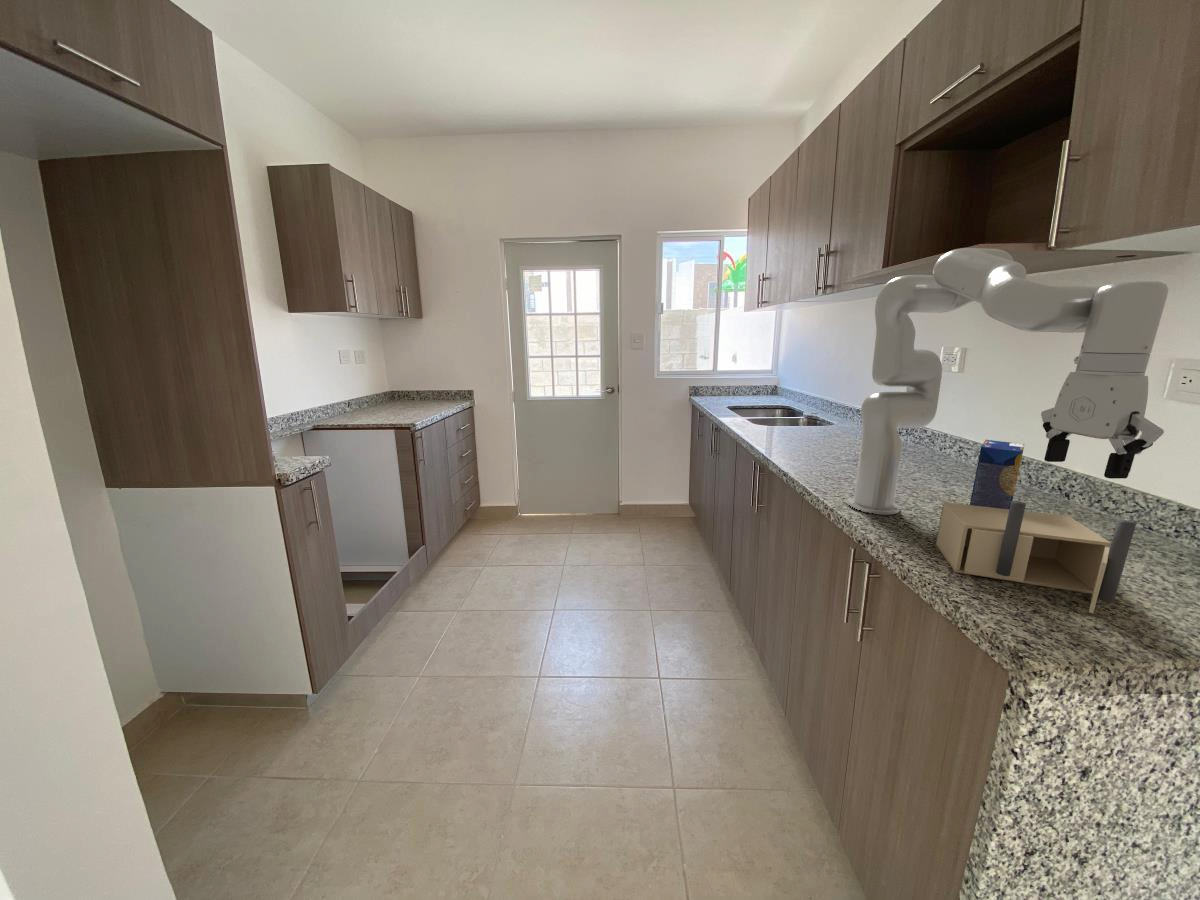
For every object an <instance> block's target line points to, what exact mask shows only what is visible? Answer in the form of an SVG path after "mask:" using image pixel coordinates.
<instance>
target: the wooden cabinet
mask: <svg viewBox="0 0 1200 900" xmlns="http://www.w3.org/2000/svg"><path fill="white" fill-rule="evenodd" d="M1008 514H1009V509H1001V508H991V507H982V506H973V505H970V504H963V503H953V502H945V501H943V502H942V508H941V514H940V519H939V525H938V529H937V536H936V539H935V540H936V542H935V546H936V547H937V548H938V550H939V551H940V552H941V554H942V556H943V557H944V558H945V560H946V562H947V563H948V564H949V565H950V567H951V568H952V570H953V571H954V573H958V574H964V575H969V576H970V575H971V576H976V577H977V576H978V577H982V578H983V577H984V578H990V579H997V580H1000V581H1008V582H1009V581H1010V582H1016V583H1021V584H1028V585H1032V586H1033V585H1034V586H1040V587H1048V588H1054V589H1058V590H1059V589H1060V590H1067V591H1072V592H1073V591H1074V592H1079V593H1086V594H1093V590H1094V586H1095V583H1096V579H1097V575H1098V572H1099V568H1100V564H1101V561H1102V557H1103V553H1104V550H1105V547H1109V548H1110V546H1111V542H1110V541H1108V540H1107V539H1105V538H1104V537H1103V536H1101V535H1099V534H1098V533H1096V532H1094V531H1092V530H1091V529H1090V528H1088V527H1086V526H1085V525H1083V524H1081V523H1080V522H1078V521H1077V520H1075V519H1073V518H1072V517H1071V516H1069V515H1063V514H1053V513H1045V512H1035V511H1026V510H1025V511H1024V515H1023V520H1022V524H1021V529H1020V533H1019V535H1025V536H1033V537H1034V538H1033V543H1032V547H1031V551H1030V556H1029V560H1028V564H1027V568H1026V573H1025V577H1024V581H1023V582H1019V581H1012V580H1006V579H999V578H993V577H987V576H980V575H974V574H967V573H964V568H965V563H966V558H967V553H968V548H969V543H970V538H971V533H972V529H977V530H985V531H993V532H1001V533H1004V532H1005V528H1006V523H1007V519H1008Z"/></svg>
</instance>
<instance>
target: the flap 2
mask: <svg viewBox="0 0 1200 900" xmlns="http://www.w3.org/2000/svg"><path fill="white" fill-rule="evenodd" d="M1136 526H1137V523H1136V522H1134V521H1132V520H1129V519H1117V521H1116V525H1115V529H1114V532H1113V535H1112V538H1111V539H1112V540H1111V542H1110V543H1111V544H1110V547H1105V550H1104V553H1103V557H1102V561H1101V564H1100V568H1099V572H1098V575H1097V579H1096V583H1095V586H1094V590H1093V594H1092V595H1091V600H1090V605H1089V610H1088V612H1089V613H1091V614H1094V613H1095V612H1094V611H1095V609H1096V604H1097V600H1098V601H1101V602H1103V603H1106V604H1114V603H1115V599H1116V596H1117V591H1118V589H1119V585H1120V583H1121V578H1122V576H1123V571H1124V568H1125V565H1126V561H1127V557H1128V554H1129V551H1130V546H1131V545H1132V540H1133V538H1134V537H1133V536H1134V533H1135V529H1136Z"/></svg>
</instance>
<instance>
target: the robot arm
mask: <svg viewBox="0 0 1200 900" xmlns="http://www.w3.org/2000/svg"><path fill="white" fill-rule="evenodd" d="M1168 293H1169V288H1168V285H1167V284H1166V283H1164V282H1161V281H1156V280H1155V281H1154V280H1142V281H1141V280H1140V281H1139V280H1138V281H1123V282H1114V283H1109V284H1105V285H1103V286H1091V285H1090V286H1087V285H1086V286H1085V285H1081V286H1080V285H1048V284H1042V283H1038V282H1034V281H1031V280H1028V279H1027V270H1026V267H1025V266H1024V265H1023V264H1022V263H1020V262H1018V261H1016V260H1014V258H1013V256H1012V255H1011V254H1010V253H1009V252H1007V251H1006V250H1002V249H999V248H984V247H982V248H981V247H980V248H979V247H962V248H960V247H959V248H956V249H952V250H950V251H948V252H946V253H944V254H943V255H941V256H940V257H939V258H938V260H937V261H936V262H935V264H934V265H933V269H932V275H930V274H907V275H901V276H897V277H895V278H892V279H891V280H889V281H888V282H886V283H885V284H884V285H883V287H882V288H881V289H880V291H879V293H878V295H877V296H876V300H875V305H874V316H875V317H874V318H875V319H874V320H875V329H876V332H875V333H876V334H875V341H874V349H873V351H874V352H873V360H872V367H871V369H872V370H871V371H872V372H871V373H872V374H871V375H872V380H873V382H874V383H875V384H877V386H881V387H891V388H892V387H896V388H897V387H898V388H900V387H901V388H902V387H906V391H884V392H883V391H882V392H875V393H872V394H871V395H869V396H867V397H866V398H865V399H864V400H863V402H862V405H861V408H860V419H861V440H860V446H859V456H858V465H857V471H856V478H855V479H856V480H855V487H854V493H853V496H849V497H848V498H847V500H846V504H847V505H848V506H849V505H850V506H851V507H850V506H849V507H850V508H852V507H853V508H852V509H854V508H855V509H854V510H856V509H857V511H859V510H861V512H863V513H867V512H868V513H869V514H872V513H873V514H872V515H879V516H880V515H882V516H883V515H884V516H885V515H886V516H889V515H896V514H898V513H900V510H901V507H900V504H899V505H898V504H897V503H896V502H895V499H896V498H895V497H896V493H897V492H896V491H897V485H898V477H899V473H900V466H901V460H902V452H903V442H902V439H901V436H900V435H899V432H898V430H899V429H916V428H923V427H926V426H928V425H930V424H931V423H932V422H933V420H934V418H935V417H936V415H937V410H938V403H939V399H940V398H939V397H940V392H941V390H940V389H941V384H942V377H943V365H942V362H941V361H942V360H941V359H940V357H939V355H938V354H936V352H934V351H932V350H928V349H920V348H919V349H915V342H916V341H915V340H916V329H915V328H916V327H915V325H914V322H913V320H912V319H911V317H910V316H909V314H910V313H931V314H932V313H933V314H934V313H936V314H937V313H938V314H942V313H948V312H949V313H950V312H952V311H953V312H954V311H955V310H958V309H960V308H963V307H965V306H966V305H968V304H971V303H973V302H976V303H979V304H981V307H982V310H983V311H984V313H985V314H986V315H987V316H988V317H990V318H992V319H994V320H996V321H998V322H1000V323H1003V324H1004V325H1007V326H1010V327H1012V328H1015V329H1018V330H1021V331H1025V332H1030V333H1066V334H1067V333H1068V334H1069V333H1072V334H1073V333H1076V334H1078V333H1084V335H1083V339H1082V342H1081V346H1080V347H1081V348H1080V351H1079V355H1078V356H1076V357H1074V360H1073V363H1074V365H1076V367H1075V371H1070V372H1069V374H1068V375H1067V376H1066V378H1065V381H1064V382H1063V384H1062V387H1061V389H1060V390H1059V393H1058V396H1057V399H1056V402H1055V404H1054V407H1052V408H1049V409H1045V410H1043V411H1041V413H1040V416H1041V419H1042V420H1041V421H1042V423H1043V424H1042V428H1043V429H1044V431H1045V433H1046V434H1045V437H1046V439H1048V443H1047V447H1046V449H1045V450H1046V451H1045V454H1044V458H1043V459H1044V462H1048V463H1062V462H1063V463H1064V462H1066V459H1067V454H1068V450H1069V447H1070V444H1071V443H1070V442H1071V439H1068V437H1070V436H1071V435H1073V434H1074V435H1077V436H1083V437H1088V438H1092V439H1100V440H1108V441H1109V443H1110V445H1112V448H1113V449H1114V450H1113V451H1115V452H1110V454H1109V455H1108V458H1107V463H1106V465H1105V466H1106V467H1105V470H1104V474H1103V477H1105V478H1106V479H1112V480H1113V479H1119V480H1120V479H1127V478H1128V477H1129V474H1130V472H1131V470H1132V466H1133V462H1134V459H1135V456H1136V455H1140V454H1141V453H1142V452H1143V451H1144V450H1147V449H1149V448H1150V447H1153V445H1154V443H1155V442H1156V441H1157V440H1158V439H1160V438H1161V437H1162V436H1163V435H1164V429H1162V428H1161V427H1160V426H1158V425H1156V424H1155V423H1154V422H1152V421H1151V420H1149V419H1148V418H1146V417H1145V416H1146V410H1147V406H1148V404H1147V403H1148V398H1149V375H1145V374H1146V371H1147V367H1148V364H1149V360H1150V358H1151V353H1152V352H1153V351H1152V350H1153V347H1154V344H1155V341H1156V340H1155V339H1156V337H1157V332H1158V331H1159V330H1158V329H1159V325H1160V322H1161V319H1162V316H1163V312H1164V308H1165V306H1166V301H1167V298H1168ZM1140 432H1141V434H1140V436H1139V437H1138V435H1139V433H1140ZM1136 437H1138V438H1136Z"/></svg>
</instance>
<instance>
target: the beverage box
mask: <svg viewBox="0 0 1200 900" xmlns="http://www.w3.org/2000/svg"><path fill="white" fill-rule="evenodd" d="M1024 449H1025V443H1019V442H1012V441H1011V442H1010V441H1009V442H1007V441H1001V440H992V439H991V440H990V439H985V440H984V441H983V443H982V445H981V446H980V451H979V456H978V460H977V465H976V470H975V476H974V480H973V481H974V482H973V486H972V491H971V497H970V502H969V505H973V506H982V507H991V508H1001V509H1010V505H1011V501H1014V496H1015V490H1016V486H1017V480H1018V477H1019V472H1020V468H1021V464H1022V463H1021V462H1022V458H1023V453H1024Z"/></svg>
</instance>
